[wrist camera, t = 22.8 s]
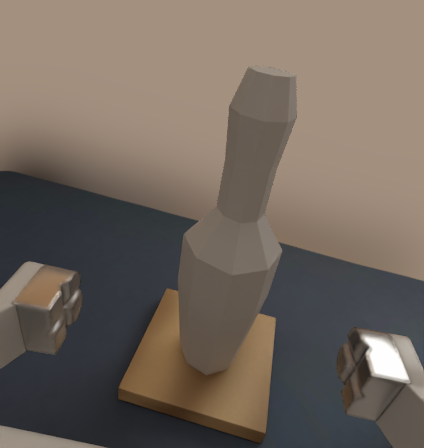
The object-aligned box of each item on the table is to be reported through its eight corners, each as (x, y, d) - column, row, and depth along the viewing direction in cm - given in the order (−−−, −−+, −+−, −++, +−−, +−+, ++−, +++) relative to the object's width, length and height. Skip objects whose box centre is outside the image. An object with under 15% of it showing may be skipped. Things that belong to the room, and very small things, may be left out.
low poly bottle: (203, 400, 26) (280, 91, 14) (156, 340, 29) (183, 55, 17) (261, 357, 30) (360, 86, 18) (212, 309, 33) (267, 58, 21)
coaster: (118, 399, 26) (118, 387, 26) (165, 298, 35) (167, 288, 35) (261, 444, 25) (265, 433, 24) (272, 328, 34) (276, 317, 34)
